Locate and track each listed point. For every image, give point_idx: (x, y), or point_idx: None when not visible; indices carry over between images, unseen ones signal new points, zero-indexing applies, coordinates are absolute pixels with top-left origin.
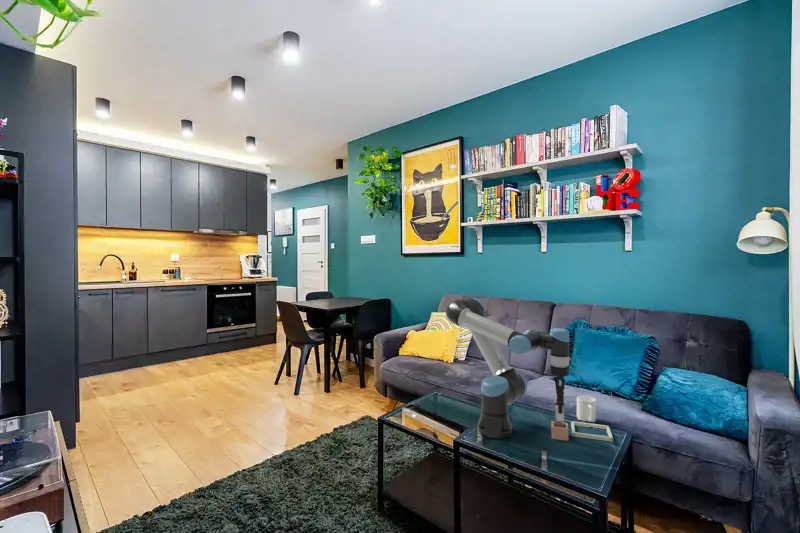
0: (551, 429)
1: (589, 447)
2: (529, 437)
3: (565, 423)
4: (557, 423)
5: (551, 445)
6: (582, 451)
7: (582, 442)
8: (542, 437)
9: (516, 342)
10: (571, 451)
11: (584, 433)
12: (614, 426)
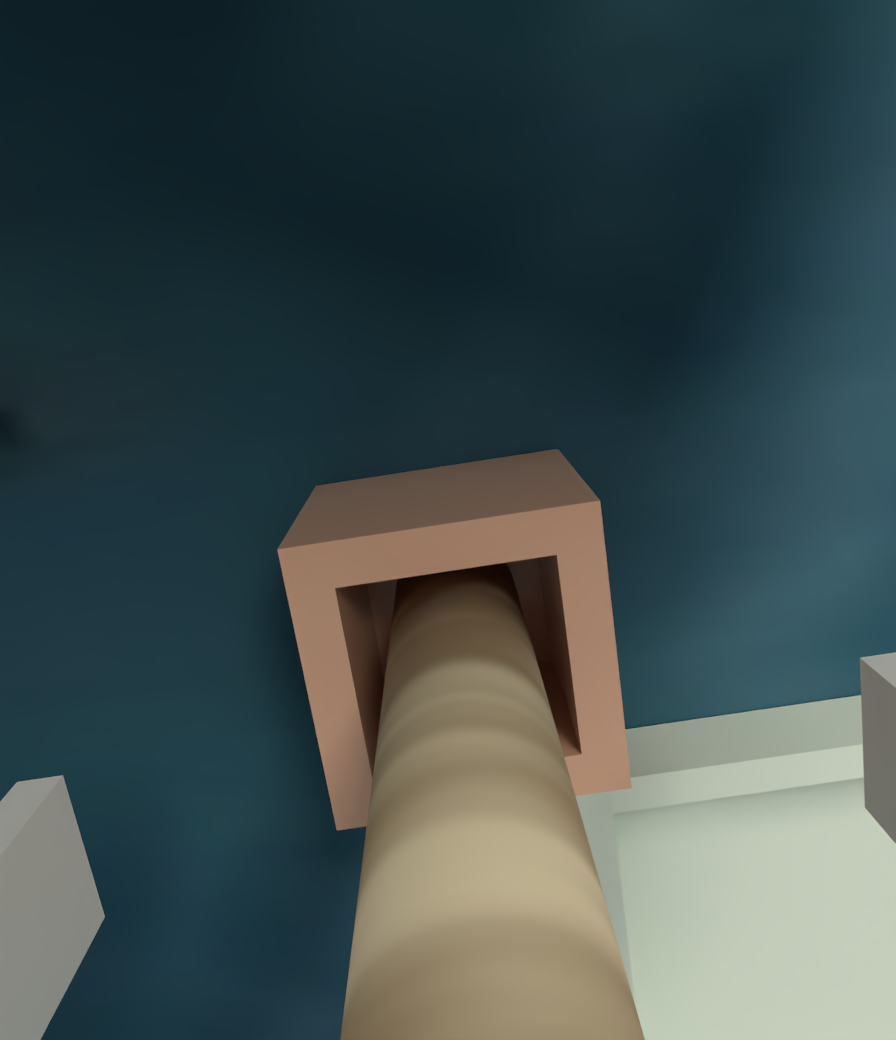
0: (286, 535)
1: None
2: (264, 133)
3: (589, 758)
4: (391, 664)
5: (158, 508)
6: (204, 877)
7: None
8: (378, 338)
9: None
10: (123, 766)
11: (621, 927)
12: None
